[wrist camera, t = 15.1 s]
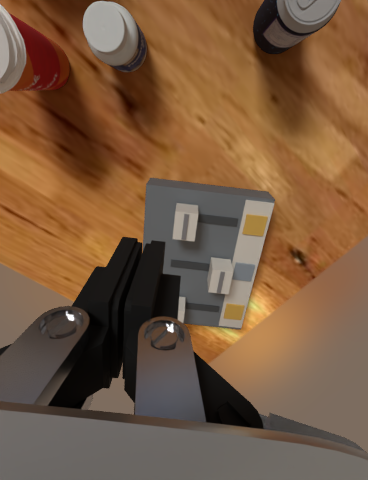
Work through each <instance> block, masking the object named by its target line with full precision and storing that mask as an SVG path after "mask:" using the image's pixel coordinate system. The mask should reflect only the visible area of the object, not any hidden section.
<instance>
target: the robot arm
mask: <svg viewBox="0 0 368 480" xmlns="http://www.w3.org/2000/svg"><path fill="white" fill-rule="evenodd" d="M165 243H166V242H163V241H154V240H152V241H151V244H149V243H146V244H145V247H144V250H143V253H142V243H140V242H138V241H137V238H128V237H123V238H122V239H121V241H120V243H119V245H118V246H117V248H116V250H115V252H114V254H113V256H112V257H111V259H110V261H109V263H108V265H107V266H106V267H99V266H98V267H96V268H95V269H94V271H93V272H92V274H91V276H90V277H89V279H88V281H87V282H86V284H85V285H84V287H83V289H82V290H81V292H80V294H79V295H78V297H77V298H76V300H75V302H74V303H73V305H72V306H65V307H58V308H54V309H51V310H49V311H47V312H45V313H43V314H42V315H41V316H40V317H38V318H37V319H36V320H35V321H34V322H33V324H31V325H30V326H29V327H28V328H27V329H26V330H25V332H23V333H22V335H20V337H19V338H17V340H16V341H15V342H14V343H13V344H10V345H8V346H5V347H3V348H1V349H0V480H368V453H367V452H366V451H364V450H363V449H362V448H361V447H360V446H358V445H357V444H356V443H354V442H352V441H350V440H348V439H346V438H344V437H341V436H338V435H335V434H332V433H329V432H326V431H323V430H320V429H317V428H314V427H311V426H308V425H305V424H302V423H299V422H296V421H293V420H290V419H287V418H284V417H281V416H278V415H275V414H272V413H269V416H268V417H267V416H264V415H261V414H259V413H258V411H257V410H256V409H255V408H254V407H253V405H252V404H251V403H250V402H249V401H247V399H245V398H244V397H243V396H242V395H241V394H240V393H239V392H238V391H236V390H235V389H234V388H233V387H232V386H231V385H230V384H229V383H228V382H227V381H226V380H225V379H223V378H222V377H221V376H220V375H219V374H218V373H217V372H216V371H215V370H214V369H212V368H211V367H210V366H209V365H208V364H207V363H206V362H205V361H204V360H203V359H201V358H200V357H199V356H198V355H197V354H196V353H195V352H194V351H193V347H192V342H191V336H190V333H189V330H188V328H187V327H186V326H185V325H184V323H182V322H180V321H179V320H178V307H179V294H180V281H181V276H179V275H170V274H163V266H164V255H165ZM122 363H123V379H125V388H124V390H125V391H126V392H127V394H128V395H129V396H130V398H131V399H132V400H133V402H134V403H135V406H134V415H132V414H122V413H112V412H103V411H93V410H88V409H89V407H90V405H91V402H92V399H93V394H94V393H95V392H97V391H99V390H100V389H102V388H109V387H110V384H111V381H112V378H118V376H119V374H120V370H121V366H122Z"/></svg>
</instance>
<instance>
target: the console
mask: <svg viewBox="0 0 368 480" xmlns="http://www.w3.org/2000/svg"><path fill="white" fill-rule="evenodd" d="M274 201H275V199H274V198H273V197H272V196H271V195H270V194H269V192H265V191H257V190H248V189H240V188H232V187H223V186H215V185H206V184H198V183H190V182H181V181H173V180H164V179H156V178H150V179H149V181H148V183H147V184H146V202H145V220H144V239H143V250H144V247H145V244H146V243H149V244H151V241H152V240H154V241H163V242H166V243H165V255H164V266H163V274H170V275H179V276H181V281H180V294H179V296H180V297H185V314H184V320H183V323H185V324H194V325H203V326H213V327H222V328H231V329H240V330H241V327H242V324H243V320H244V316H245V312H246V308H247V305H248V301H249V297H250V293H251V290H252V286H253V282H254V278H255V275H256V271H257V267H258V263H259V260H260V256H261V252H262V248H263V245H264V241H265V237H266V233H267V230H268V226H269V222H270V218H271V215H272V211H273V207H274ZM177 203H182V204H191V205H198V221H197V228H196V235H195V241H194V242H193V241H185V240H176V239H173V229H174V219H175V210H176V205H177ZM211 257H213V258H222V259H231V263H232V268H233V276H232V281H231V285H230V290H229V294H220V293H211V292H208V282H207V278H208V272H209V267H210V261H211Z"/></svg>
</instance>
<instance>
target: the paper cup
mask: <svg viewBox="0 0 368 480" xmlns="http://www.w3.org/2000/svg"><path fill="white" fill-rule="evenodd" d="M69 73H70V66H69V62H68V59H67V56H66V54H65V53H64V51H63V50H62V49H61V48H60V47H59V46H58V45H57V44H56V43H55V42H53V41H52V40H50V39H49V38H47V37H46V36H44V35H43V34H41V33H40V32H38V31H37V30H35V29H33V28H32V27H30V26H29V25H27V24H26V23H24V22H22V21H21V20H19V19H18V18H16V17H15V16H13V15H11V14H10V13H8V12H7V11H6V10H5V8H4V7H3V6H2V5H1V4H0V93H4V92H6V91H23V90H55V89H58V88H61V87H62V86H63V85H64V84H65V83H66V82H67V80H68V78H69Z"/></svg>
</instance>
